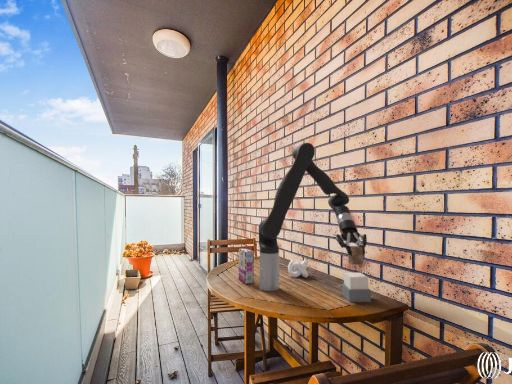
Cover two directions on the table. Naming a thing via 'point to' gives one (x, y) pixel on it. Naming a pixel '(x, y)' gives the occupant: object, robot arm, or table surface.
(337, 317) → the table surface
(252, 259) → the candy bar box
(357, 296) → the tower base block
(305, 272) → the white knot sculpture
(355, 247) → the walnut block
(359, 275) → the tower top block
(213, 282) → the table surface
